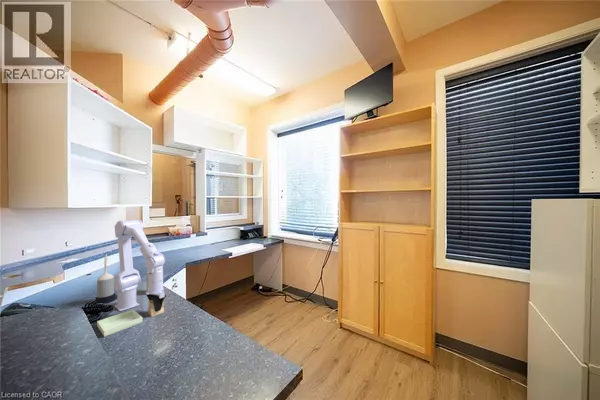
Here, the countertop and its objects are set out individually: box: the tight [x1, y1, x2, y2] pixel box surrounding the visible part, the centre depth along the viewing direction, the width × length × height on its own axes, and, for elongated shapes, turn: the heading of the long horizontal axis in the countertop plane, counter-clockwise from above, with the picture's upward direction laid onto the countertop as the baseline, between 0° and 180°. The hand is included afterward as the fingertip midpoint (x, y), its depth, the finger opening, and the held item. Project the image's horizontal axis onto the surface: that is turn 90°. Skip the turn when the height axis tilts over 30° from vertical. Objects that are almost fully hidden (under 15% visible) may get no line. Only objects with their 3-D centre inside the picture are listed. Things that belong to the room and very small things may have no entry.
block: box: [147, 300, 165, 318], centre depth 102 cm, size 4×5×6 cm
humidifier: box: [94, 254, 117, 304], centre depth 116 cm, size 8×8×25 cm
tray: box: [96, 309, 144, 338], centre depth 93 cm, size 13×13×2 cm
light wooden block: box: [145, 272, 149, 293], centre depth 127 cm, size 6×4×12 cm
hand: (156, 309), depth 102 cm, fingers closed on block, 4 cm apart
